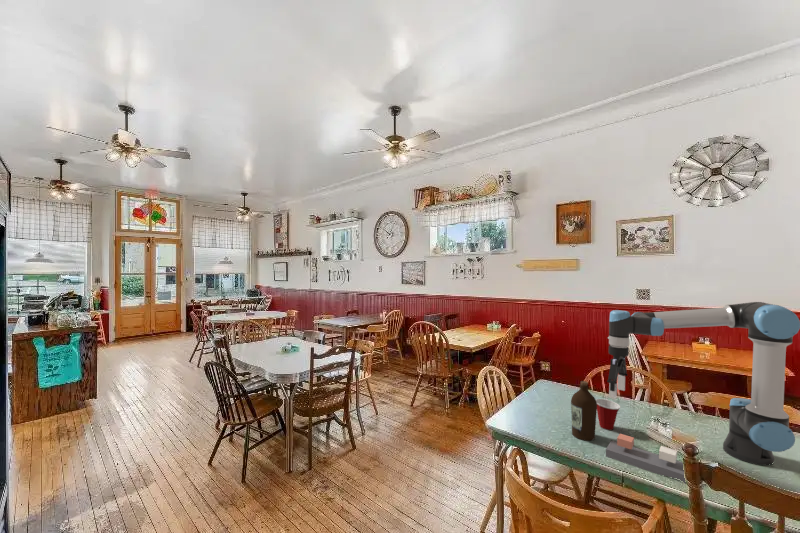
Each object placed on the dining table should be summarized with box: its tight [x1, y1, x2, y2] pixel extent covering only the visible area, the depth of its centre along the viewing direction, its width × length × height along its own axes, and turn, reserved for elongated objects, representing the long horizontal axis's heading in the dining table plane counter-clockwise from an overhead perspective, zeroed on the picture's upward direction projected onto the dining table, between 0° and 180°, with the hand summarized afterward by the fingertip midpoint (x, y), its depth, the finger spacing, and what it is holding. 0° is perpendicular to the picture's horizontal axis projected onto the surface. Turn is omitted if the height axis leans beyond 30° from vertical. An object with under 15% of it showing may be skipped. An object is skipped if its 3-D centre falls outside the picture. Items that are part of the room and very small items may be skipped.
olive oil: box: [570, 380, 598, 442], centre depth 163 cm, size 11×11×25 cm
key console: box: [605, 439, 686, 484], centre depth 141 cm, size 26×10×3 cm, turn 47°
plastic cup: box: [595, 398, 621, 431], centre depth 171 cm, size 11×11×12 cm
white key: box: [658, 445, 678, 463], centre depth 136 cm, size 5×5×3 cm
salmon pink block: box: [616, 433, 635, 449], centre depth 145 cm, size 5×5×3 cm
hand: (617, 393), depth 155 cm, fingers open, 13 cm apart
